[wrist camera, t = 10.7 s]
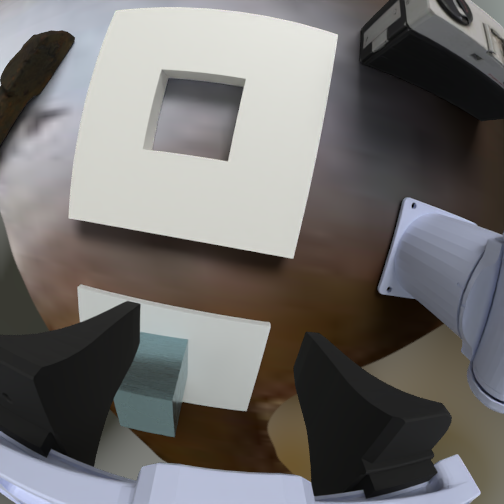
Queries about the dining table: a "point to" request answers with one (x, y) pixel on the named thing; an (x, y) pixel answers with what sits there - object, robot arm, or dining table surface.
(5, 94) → the dark brown wooden bar
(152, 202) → the plate
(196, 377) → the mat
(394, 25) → the camera
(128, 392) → the teal rectangular block
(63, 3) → the dining table surface
